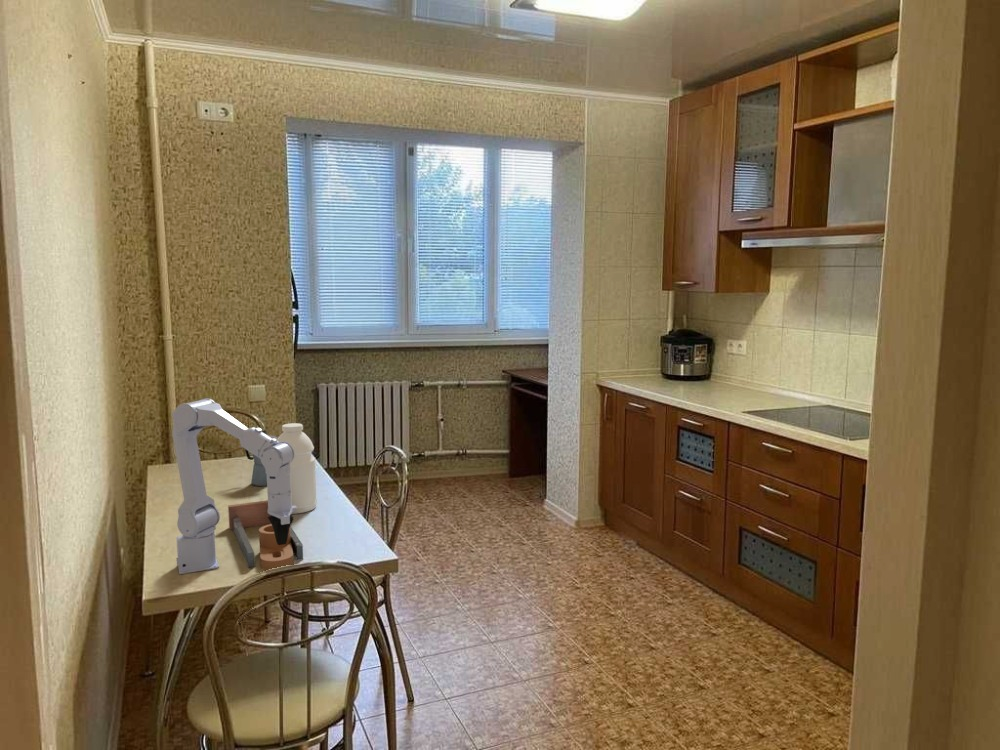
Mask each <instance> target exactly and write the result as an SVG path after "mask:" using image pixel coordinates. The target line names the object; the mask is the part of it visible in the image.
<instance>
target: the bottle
mask: <svg viewBox="0 0 1000 750" xmlns="http://www.w3.org/2000/svg"><path fill="white" fill-rule="evenodd" d="M303 430H304V425H303V424H302V423H299V422H298V423H297V422H295V423H294V422H293V423H292V422H291V423H286V424H282V426H281V432H282V433H281V434H279V436H278V437H277V441H278V442H287V443H288V444H289V445H291V447H292V448H293V450H294V459H293V460H292V462H290V463H289V464H290V472H291V497H292V506H296V507H297V510H293V511H292V513H291V515H292V514H293V515H294V514H295V515H296V514H302V513H307V512H310V511H312V510H314V509H316V508H317V504H318V498H317V476H316V473H317V470H316V457H314V455H313V454H312V452H313V451H314V450H315V446H314V444H313V442H312V439H311V438H310V437H309V436H308V435H307V434H306V433H305V432H304V431H303Z"/></svg>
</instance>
